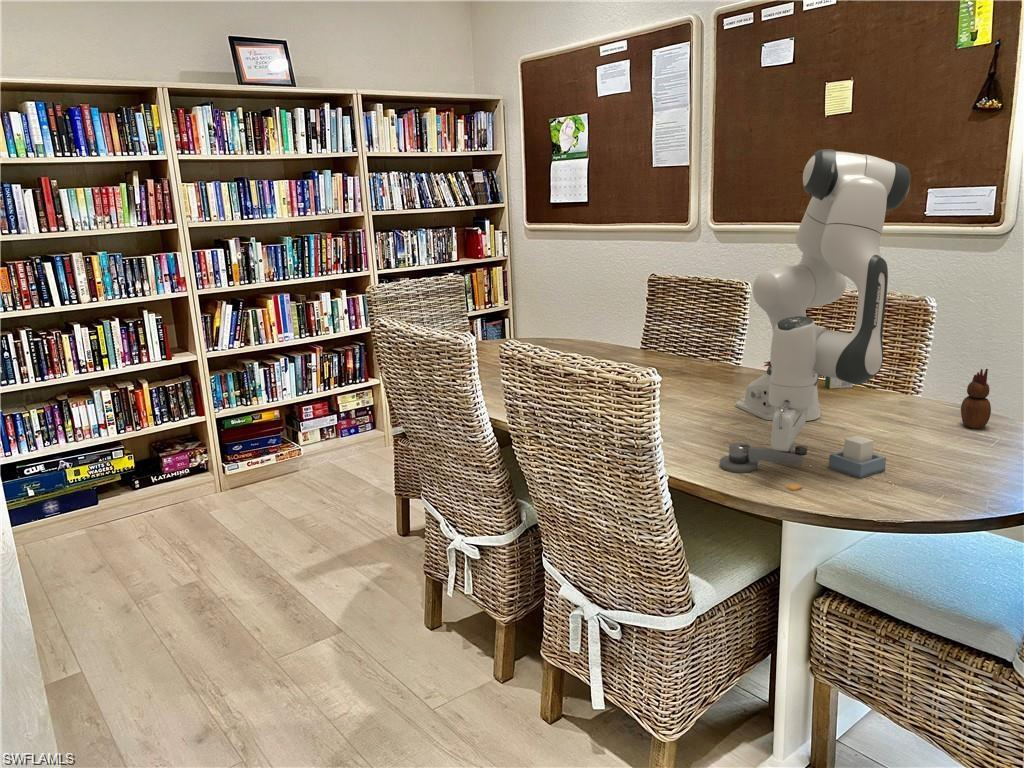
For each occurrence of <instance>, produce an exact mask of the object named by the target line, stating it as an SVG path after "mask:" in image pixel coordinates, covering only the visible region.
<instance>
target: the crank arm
mask: <svg viewBox="0 0 1024 768" xmlns="http://www.w3.org/2000/svg"><path fill="white" fill-rule="evenodd" d="M807 454H808V447H807V446H804V445H796V446H795V445H794V450H793V451H779V450H773V449H772V448H770V447H762V446H755V445H754V446H753V445H750V444H748V443H745V442H732V443H730V444H729V445H728V455H729V461H731V462H734V463H748V462H749V461H750V459H753V460H757V461H762V462H770V463H778V464H785V465H790V466H791V465H792V466H800V467H803V464H804V458H805V456H807Z"/></svg>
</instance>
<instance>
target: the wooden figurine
mask: <svg viewBox="0 0 1024 768" xmlns="http://www.w3.org/2000/svg"><path fill="white" fill-rule="evenodd" d="M983 371H984V370H983V368H981V369H980V371H979V372H977V373H976V374H974V375H973V378H972V380H971V382H969V383H968V385H967V388H966V393H967V395H968V396H966V397H965V398H963V399H962V402H961V405H960V416H961V421H962V424H963V425H964V426H965V427H968V428H970V429H978V430H979V429H982V428H985V427H986V425H987V424H988V422H989V420H990V419H991V415H992V414H991V413H992V406H991V402H990V400H989V399H988V398H987V397H988V396H989V394H990V385H989V384H988V371H989V369H988V368H986V369H985V371H984V373H983Z"/></svg>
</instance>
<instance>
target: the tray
mask: <svg viewBox="0 0 1024 768" xmlns="http://www.w3.org/2000/svg"><path fill="white" fill-rule="evenodd" d="M843 452H844V449H843V450H840V451H836V452H833V453H830V454H829V457H828V458H829V461H828V468H829V469H832V470H836V471H837V472H840V473H844V474H846V475H849V476H851V477H854V478H857V479H863V478H867V477H870V476H873V475H877V474H879V473H883V472H886V464H887V457H886V456H882V455H879V454H877V453H873V454H872V460H869V461H866V462H862V463H859V462H856V461H853V460H850V459H847V458H844V457H843Z"/></svg>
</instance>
